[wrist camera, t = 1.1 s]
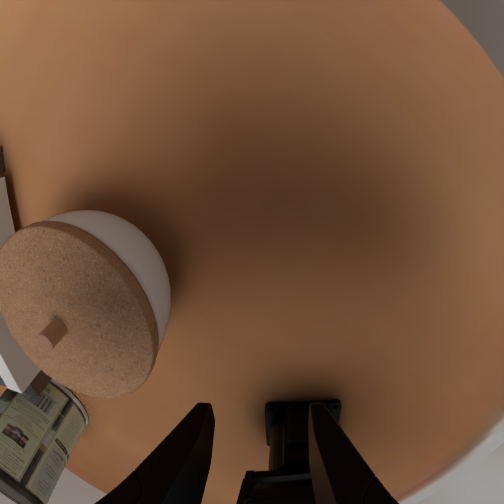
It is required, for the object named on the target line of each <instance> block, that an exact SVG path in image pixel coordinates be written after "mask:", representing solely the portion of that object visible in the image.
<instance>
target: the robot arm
mask: <svg viewBox="0 0 504 504" xmlns="http://www.w3.org/2000/svg"><path fill="white" fill-rule="evenodd" d="M340 410H341V402H340V401H339V400H326V401H310V402H283V403H267V404H266V405H265V419H266V437H267V445H268V446H270V451H269V471H246V475H245V478H244V479H243V482H242V485H241V489H240V493H239V496H238V500H237V504H399V503H398V502H397V501H396V500H395V499H394V498H393V497H392V496H391V495H390V493H389V492H388V491H387V490H386V488H385V487H384V486H383V485H382V483H381V482H380V481H379V479H378V478H377V477H375V474H374V473H373V471H372V470H371V469H370V467H369V466H368V465H367V463H366V462H365V460H364V459H363V458H362V456H361V455H360V454H359V452H358V451H357V449H356V448H355V447H354V445H353V444H352V443H351V441H350V440H349V438H348V437H347V436H346V434H345V433H344V431H343V430H342V429H341V427H340V426H339V424H338V420H339V416H340ZM214 428H215V418H214V414H213V409H212V405H211V404H210V403H201V402H200V403H197V404H196V405H195V406H194V408H193V409H192V410H191V411H190V412H189V413H188V414H187V415H186V416H185V417H184V419H183V420H182V421H181V422H180V423H179V424H178V425H177V426H176V427H175V428H174V429H173V430H172V431H171V433H170V434H169V435H168V436H167V437H166V438H165V439H164V440H163V441H162V442H161V443H160V444H159V445H158V446H157V447H156V448H155V449H154V450H153V451H152V452H151V454H150V455H149V456H148V457H147V458H146V459H145V460H144V461H143V462H142V463H141V464H140V465H139V466H138V467H137V468H136V469H135V471H133V472H132V473H131V474H130V475H129V476H128V477H127V478H126V479H125V480H124V481H122V482H121V483H120V484H119V485H118V486H117V487H116V488H115V489H113V490H112V491H111V492H110V493H108V494H107V495H106V496H104V497H103V498H102V499H100V500H99V501H98V502H96V503H95V504H201V502H202V498H203V494H204V490H205V485H206V481H207V477H208V473H209V469H210V464H211V457H212V447H213V437H214Z"/></svg>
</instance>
